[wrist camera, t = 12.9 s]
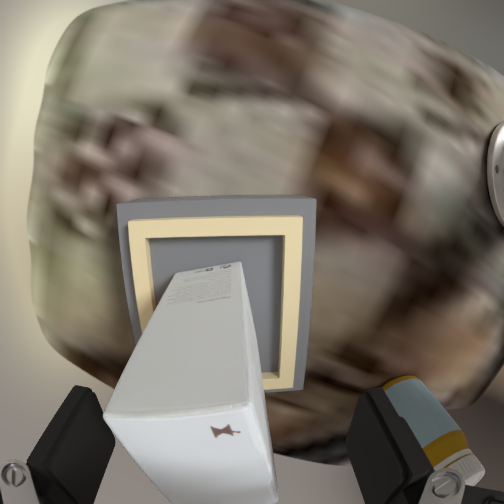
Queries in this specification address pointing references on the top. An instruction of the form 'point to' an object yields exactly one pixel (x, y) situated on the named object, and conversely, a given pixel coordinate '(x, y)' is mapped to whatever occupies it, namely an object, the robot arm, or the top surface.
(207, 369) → the skincare box
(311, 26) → the top surface
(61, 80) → the top surface
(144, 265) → the tray
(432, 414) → the bottle
